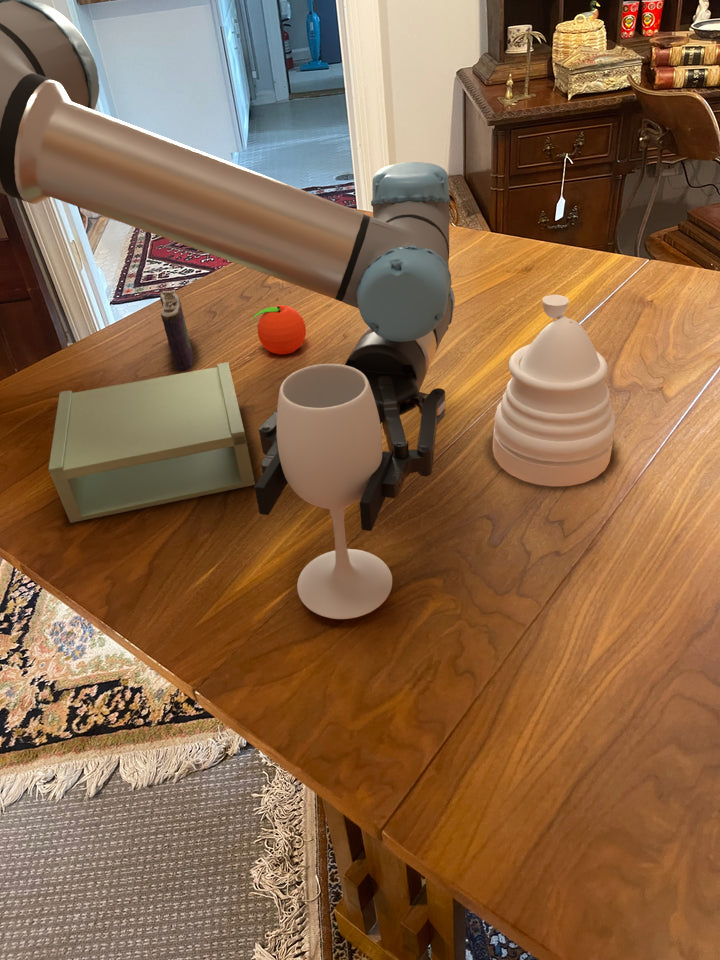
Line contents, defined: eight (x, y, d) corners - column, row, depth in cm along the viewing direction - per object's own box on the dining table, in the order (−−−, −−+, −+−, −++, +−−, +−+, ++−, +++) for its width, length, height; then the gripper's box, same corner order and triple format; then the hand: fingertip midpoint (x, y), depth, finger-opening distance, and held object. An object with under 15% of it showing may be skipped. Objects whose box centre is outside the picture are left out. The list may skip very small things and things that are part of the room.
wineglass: (412, 581, 67) (407, 381, 54) (342, 636, 62) (319, 432, 49) (346, 538, 72) (327, 345, 59) (278, 586, 67) (241, 388, 54)
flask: (172, 347, 111) (156, 279, 104) (192, 344, 111) (177, 276, 104) (175, 376, 103) (157, 305, 97) (196, 373, 104) (180, 302, 97)
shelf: (71, 527, 79) (47, 469, 74) (79, 445, 91) (59, 392, 86) (255, 489, 82) (244, 431, 77) (239, 415, 94) (228, 361, 89)
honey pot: (472, 440, 86) (477, 297, 75) (566, 413, 89) (584, 271, 78) (530, 504, 77) (546, 349, 66) (633, 471, 80) (665, 318, 69)
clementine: (252, 365, 104) (243, 320, 100) (255, 343, 110) (248, 298, 105) (308, 361, 104) (302, 315, 100) (309, 339, 110) (303, 294, 105)
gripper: (492, 405, 72) (446, 566, 55) (297, 385, 77) (200, 526, 60) (496, 336, 67) (447, 488, 50) (288, 320, 73) (180, 452, 56)
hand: (312, 508), depth 55 cm, fingers closed on wineglass, 8 cm apart
